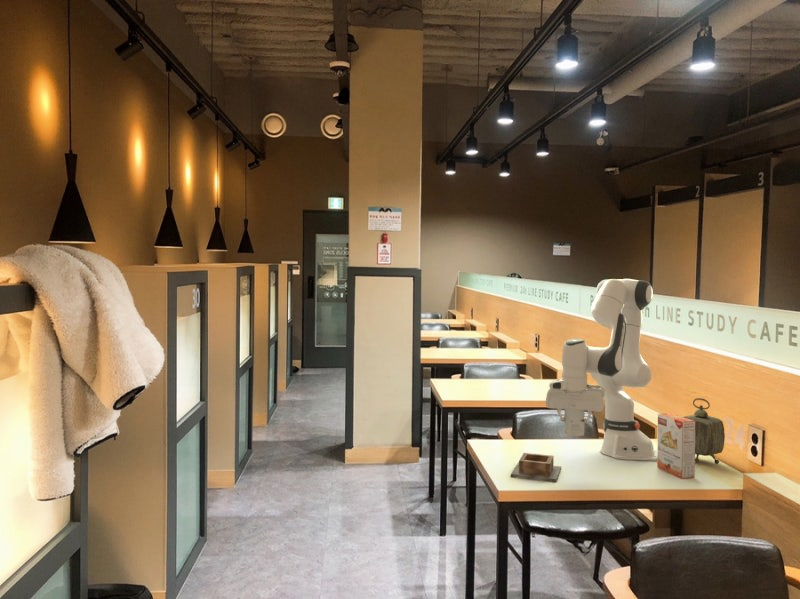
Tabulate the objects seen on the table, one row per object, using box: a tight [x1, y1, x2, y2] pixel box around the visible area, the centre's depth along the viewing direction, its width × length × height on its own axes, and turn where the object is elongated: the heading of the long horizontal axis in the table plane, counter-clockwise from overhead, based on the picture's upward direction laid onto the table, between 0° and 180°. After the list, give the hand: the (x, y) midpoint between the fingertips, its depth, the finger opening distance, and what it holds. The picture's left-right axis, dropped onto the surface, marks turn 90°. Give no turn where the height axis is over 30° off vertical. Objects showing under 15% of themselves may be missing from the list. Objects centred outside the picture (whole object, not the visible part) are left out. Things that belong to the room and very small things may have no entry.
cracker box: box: [656, 412, 696, 480], centre depth 227 cm, size 14×6×21 cm, turn 13°
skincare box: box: [563, 402, 586, 437], centre depth 223 cm, size 6×4×12 cm
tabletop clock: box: [683, 397, 726, 465], centre depth 241 cm, size 14×9×25 cm, turn 31°
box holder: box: [510, 452, 562, 483], centre depth 226 cm, size 16×16×6 cm
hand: (574, 421), depth 223 cm, fingers closed on skincare box, 7 cm apart
